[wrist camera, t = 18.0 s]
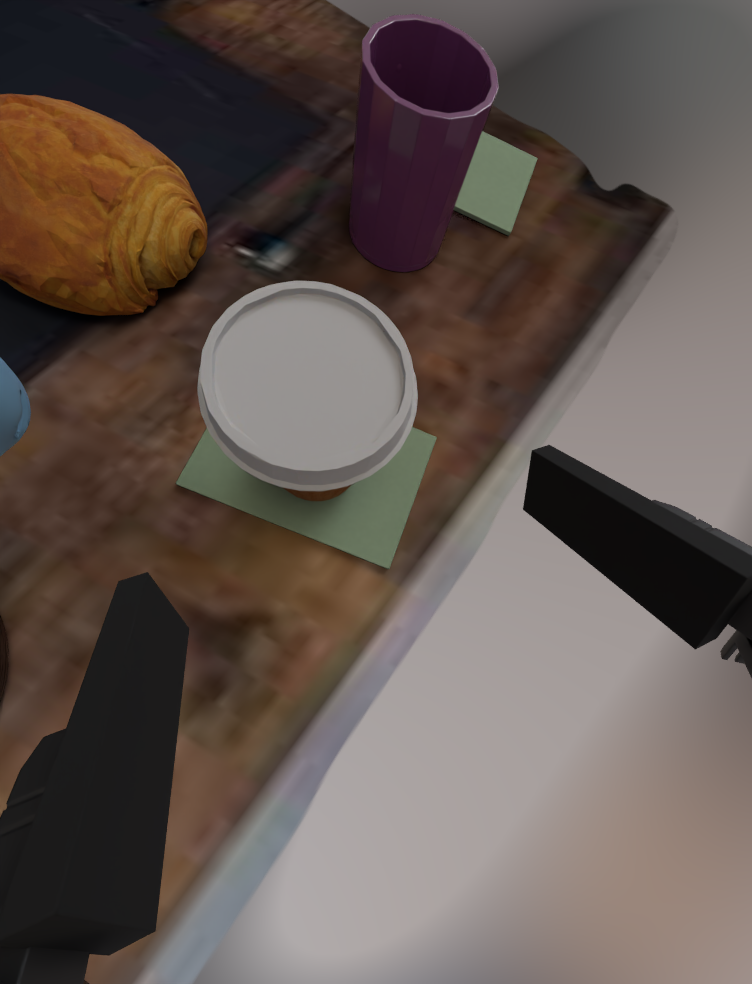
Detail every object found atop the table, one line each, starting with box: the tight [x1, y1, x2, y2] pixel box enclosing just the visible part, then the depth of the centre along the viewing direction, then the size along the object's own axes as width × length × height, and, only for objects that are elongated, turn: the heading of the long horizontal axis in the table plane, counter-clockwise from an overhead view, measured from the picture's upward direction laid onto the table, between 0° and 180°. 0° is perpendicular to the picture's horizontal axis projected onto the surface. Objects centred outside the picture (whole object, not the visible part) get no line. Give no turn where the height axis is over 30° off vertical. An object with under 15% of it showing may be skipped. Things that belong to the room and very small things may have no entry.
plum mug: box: [349, 14, 499, 272], centre depth 27 cm, size 12×9×11 cm
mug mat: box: [454, 132, 537, 236], centre depth 35 cm, size 16×11×1 cm
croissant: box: [0, 94, 207, 316], centre depth 24 cm, size 14×16×8 cm
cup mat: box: [176, 427, 437, 569], centre depth 26 cm, size 16×11×1 cm
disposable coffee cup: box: [197, 281, 418, 501], centre depth 20 cm, size 10×10×12 cm
